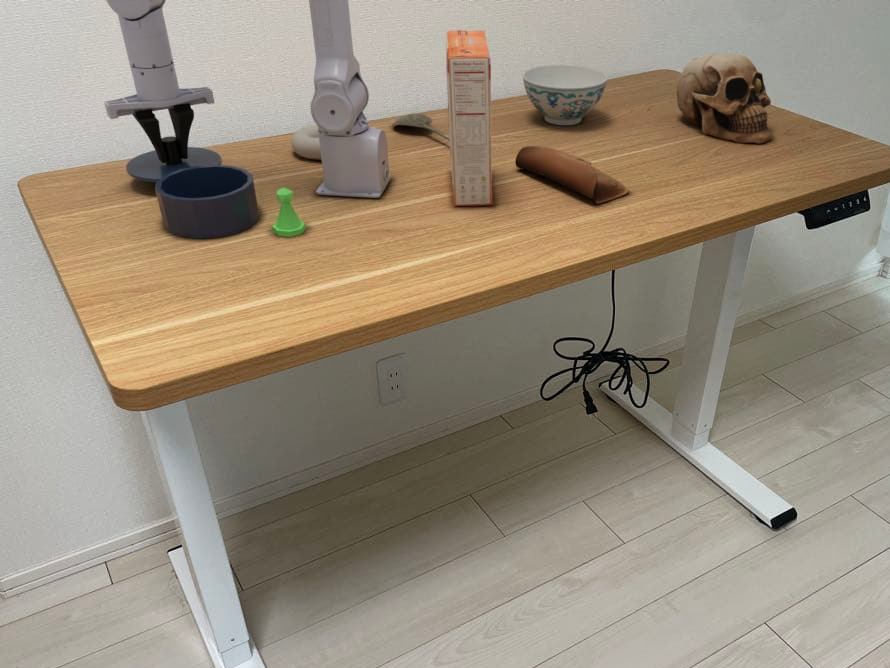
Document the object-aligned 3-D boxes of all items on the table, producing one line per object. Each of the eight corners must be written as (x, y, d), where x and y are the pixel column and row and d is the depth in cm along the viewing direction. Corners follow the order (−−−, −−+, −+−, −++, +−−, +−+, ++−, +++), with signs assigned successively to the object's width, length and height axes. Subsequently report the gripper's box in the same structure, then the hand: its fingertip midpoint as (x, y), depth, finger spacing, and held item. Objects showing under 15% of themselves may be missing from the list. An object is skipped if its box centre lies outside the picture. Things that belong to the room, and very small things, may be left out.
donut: (282, 160, 135) (341, 165, 133) (278, 139, 133) (338, 143, 131) (307, 140, 143) (363, 144, 141) (304, 119, 141) (361, 123, 139)
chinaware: (606, 134, 148) (610, 88, 144) (521, 131, 148) (522, 86, 144) (601, 107, 160) (604, 65, 156) (522, 105, 160) (523, 63, 156)
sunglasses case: (634, 189, 127) (621, 156, 121) (603, 222, 125) (589, 190, 120) (553, 155, 138) (539, 124, 132) (525, 185, 136) (509, 155, 131)
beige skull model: (771, 145, 145) (777, 62, 138) (669, 145, 149) (670, 65, 142) (772, 120, 157) (779, 44, 150) (679, 121, 162) (680, 47, 155)
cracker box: (449, 171, 132) (444, 29, 120) (488, 171, 133) (487, 29, 120) (451, 207, 121) (446, 54, 109) (493, 207, 122) (492, 54, 109)
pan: (258, 198, 122) (252, 161, 119) (259, 234, 113) (252, 195, 110) (168, 205, 120) (159, 168, 116) (161, 242, 110) (151, 203, 107)
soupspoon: (418, 123, 153) (387, 132, 150) (416, 104, 151) (384, 113, 148) (488, 155, 138) (454, 165, 135) (486, 134, 136) (452, 144, 133)
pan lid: (223, 151, 133) (218, 121, 130) (221, 182, 123) (215, 151, 120) (132, 156, 130) (125, 127, 127) (122, 189, 120) (114, 158, 117)
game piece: (272, 225, 115) (265, 183, 111) (304, 222, 116) (298, 180, 112) (273, 238, 112) (266, 195, 108) (307, 235, 113) (301, 192, 109)
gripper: (195, 50, 123) (213, 142, 131) (89, 63, 117) (115, 159, 125) (210, 61, 119) (228, 156, 127) (102, 75, 112) (128, 174, 120)
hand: (173, 158), depth 125 cm, fingers closed on pan lid, 2 cm apart
